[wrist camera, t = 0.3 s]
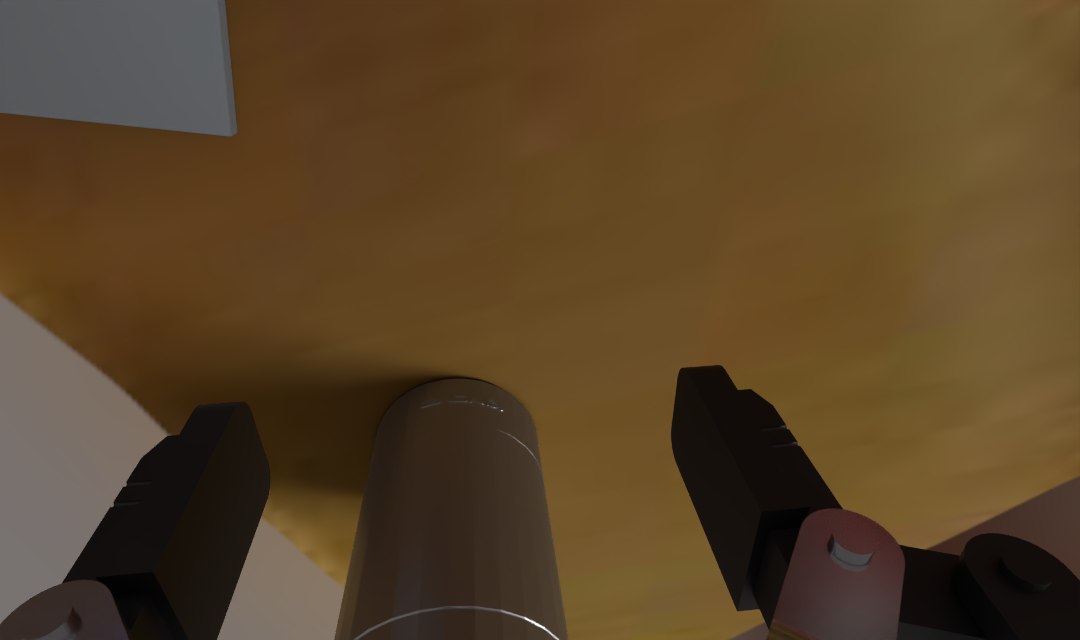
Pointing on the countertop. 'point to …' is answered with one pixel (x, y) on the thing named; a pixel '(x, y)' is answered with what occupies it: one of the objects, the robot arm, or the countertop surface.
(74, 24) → the coaster
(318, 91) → the countertop surface
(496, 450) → the robot arm
